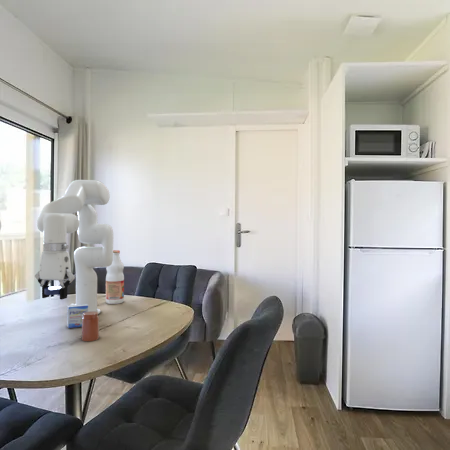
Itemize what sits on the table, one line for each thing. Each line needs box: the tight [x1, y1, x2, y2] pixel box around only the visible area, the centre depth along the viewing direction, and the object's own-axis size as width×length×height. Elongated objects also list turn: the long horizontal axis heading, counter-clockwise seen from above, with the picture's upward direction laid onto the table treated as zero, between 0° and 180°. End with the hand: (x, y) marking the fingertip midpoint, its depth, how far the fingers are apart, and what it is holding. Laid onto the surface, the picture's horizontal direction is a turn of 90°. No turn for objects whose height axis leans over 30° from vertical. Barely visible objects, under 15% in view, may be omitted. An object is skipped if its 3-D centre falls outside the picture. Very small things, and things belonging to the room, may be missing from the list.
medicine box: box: [66, 304, 88, 329], centre depth 155 cm, size 8×4×9 cm, turn 117°
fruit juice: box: [105, 249, 125, 305], centre depth 200 cm, size 9×9×28 cm
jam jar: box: [81, 312, 100, 342], centre depth 138 cm, size 6×6×10 cm
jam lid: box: [44, 285, 62, 296], centre depth 132 cm, size 7×7×2 cm
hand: (54, 297), depth 132 cm, fingers closed on jam lid, 6 cm apart
